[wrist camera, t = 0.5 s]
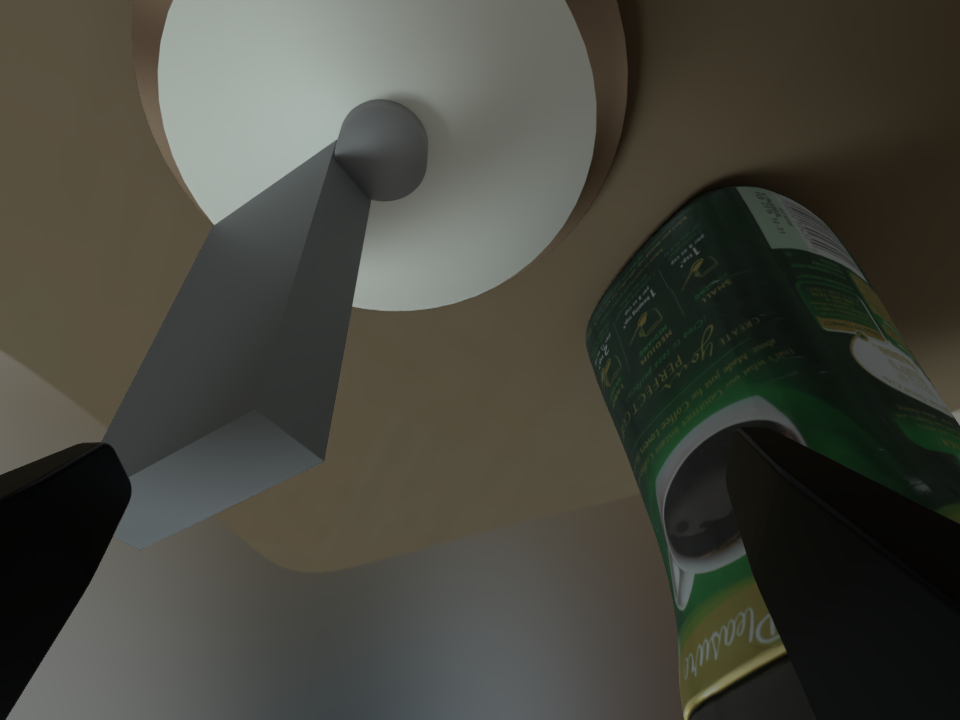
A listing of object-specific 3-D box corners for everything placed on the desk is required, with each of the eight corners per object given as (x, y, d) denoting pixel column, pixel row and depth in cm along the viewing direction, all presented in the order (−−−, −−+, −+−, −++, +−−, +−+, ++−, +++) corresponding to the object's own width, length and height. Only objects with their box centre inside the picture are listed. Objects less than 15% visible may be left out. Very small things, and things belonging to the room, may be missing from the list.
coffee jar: (695, 397, 30) (904, 932, 16) (553, 336, 27) (660, 922, 13) (872, 238, 24) (1424, 849, 10) (716, 139, 21) (1195, 800, 8)
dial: (151, -191, 14) (-310, -129, 5) (651, -60, 16) (881, 135, 7) (193, 255, 22) (27, 570, 13) (528, 306, 23) (572, 609, 15)
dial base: (115, -280, 14) (83, -283, 13) (696, -116, 17) (716, -106, 15) (175, 249, 23) (160, 277, 22) (544, 307, 26) (549, 334, 25)
